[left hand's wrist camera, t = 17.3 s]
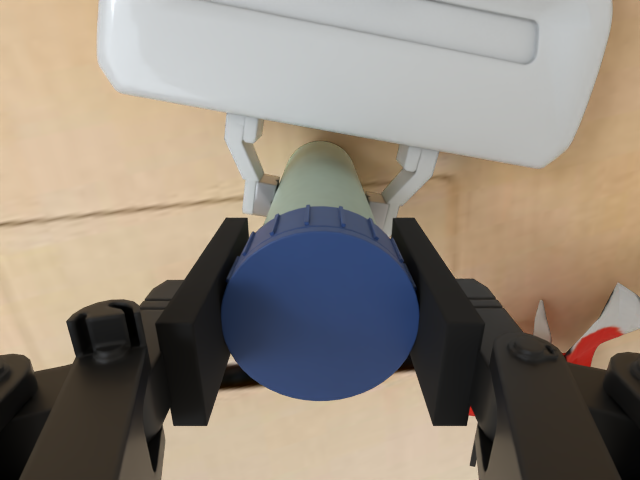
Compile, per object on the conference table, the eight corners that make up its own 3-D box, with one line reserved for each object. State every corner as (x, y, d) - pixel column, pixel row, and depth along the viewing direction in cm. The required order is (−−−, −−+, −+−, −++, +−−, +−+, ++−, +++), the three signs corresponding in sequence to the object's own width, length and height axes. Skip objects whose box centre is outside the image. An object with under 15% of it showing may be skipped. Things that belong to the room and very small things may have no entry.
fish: (445, 264, 23) (599, 428, 16) (616, 214, 29) (781, 320, 22) (401, 367, 30) (497, 511, 23) (546, 310, 36) (655, 412, 29)
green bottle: (367, 158, 25) (432, 269, 11) (337, 220, 27) (358, 392, 12) (301, 129, 25) (273, 204, 10) (274, 194, 26) (216, 342, 11)
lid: (229, 199, 11) (211, 224, 9) (418, 208, 11) (437, 234, 9) (235, 352, 13) (221, 399, 11) (396, 359, 13) (409, 406, 11)
